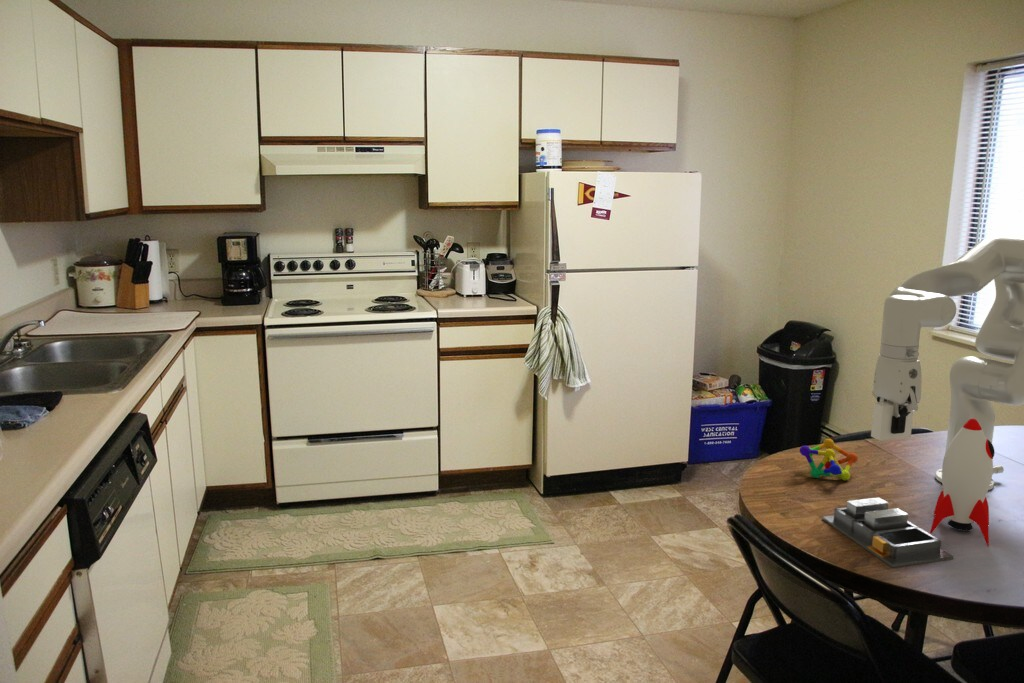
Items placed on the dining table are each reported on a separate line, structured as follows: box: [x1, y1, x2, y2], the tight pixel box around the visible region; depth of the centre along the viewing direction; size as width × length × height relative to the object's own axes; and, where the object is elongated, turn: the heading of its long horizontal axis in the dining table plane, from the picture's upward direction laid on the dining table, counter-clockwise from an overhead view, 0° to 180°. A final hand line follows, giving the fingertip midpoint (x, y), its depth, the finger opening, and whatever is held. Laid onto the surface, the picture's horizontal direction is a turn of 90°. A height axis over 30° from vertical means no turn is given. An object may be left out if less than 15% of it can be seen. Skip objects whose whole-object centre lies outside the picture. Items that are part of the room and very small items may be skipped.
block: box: [870, 400, 914, 441], centre depth 170 cm, size 8×3×8 cm, turn 103°
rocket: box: [929, 419, 995, 547], centre depth 159 cm, size 11×11×25 cm
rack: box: [821, 497, 954, 569], centre depth 158 cm, size 14×22×6 cm, turn 13°
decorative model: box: [799, 438, 859, 481], centre depth 192 cm, size 13×9×15 cm
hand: (891, 429), depth 171 cm, fingers closed on block, 3 cm apart
